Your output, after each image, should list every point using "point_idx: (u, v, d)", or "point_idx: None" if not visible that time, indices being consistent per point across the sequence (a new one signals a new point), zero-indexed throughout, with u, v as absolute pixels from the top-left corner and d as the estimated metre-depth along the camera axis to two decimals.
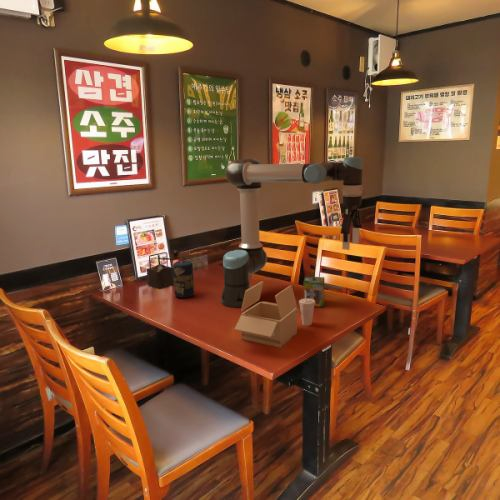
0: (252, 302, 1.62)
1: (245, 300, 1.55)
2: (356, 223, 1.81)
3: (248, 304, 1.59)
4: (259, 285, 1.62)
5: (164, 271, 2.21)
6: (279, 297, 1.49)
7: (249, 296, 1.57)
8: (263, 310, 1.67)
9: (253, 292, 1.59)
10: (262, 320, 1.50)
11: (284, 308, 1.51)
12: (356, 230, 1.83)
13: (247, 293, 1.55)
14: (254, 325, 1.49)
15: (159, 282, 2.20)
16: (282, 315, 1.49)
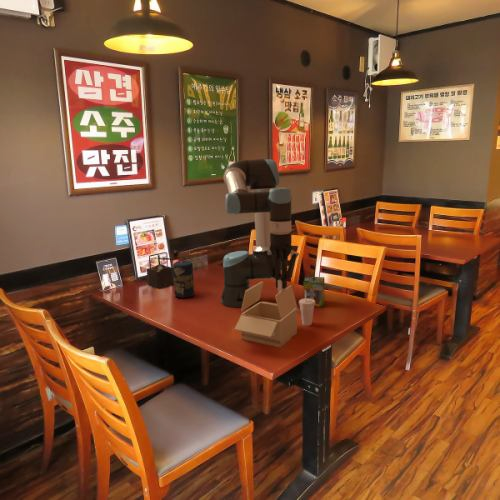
0: (252, 302, 1.62)
1: (245, 300, 1.55)
2: None
3: (248, 304, 1.59)
4: (259, 285, 1.62)
5: (164, 271, 2.21)
6: (279, 297, 1.49)
7: (249, 296, 1.57)
8: (263, 310, 1.67)
9: (253, 292, 1.59)
10: (262, 320, 1.50)
11: (284, 308, 1.51)
12: None
13: (247, 293, 1.55)
14: (254, 325, 1.49)
15: (159, 282, 2.20)
16: (282, 315, 1.49)
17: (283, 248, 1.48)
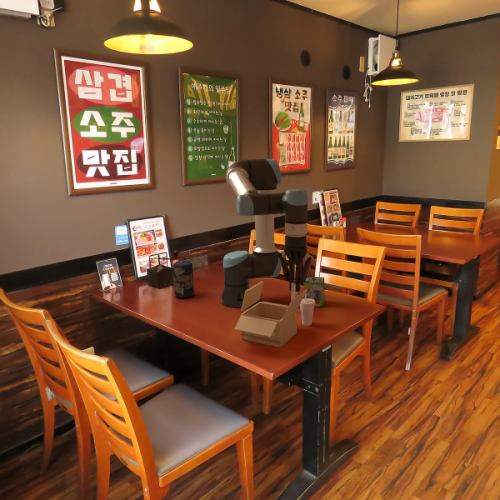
0: (252, 302, 1.62)
1: (245, 300, 1.55)
2: None
3: (248, 304, 1.59)
4: (259, 285, 1.62)
5: (164, 271, 2.21)
6: (293, 302, 1.46)
7: (249, 296, 1.57)
8: (263, 310, 1.67)
9: (253, 292, 1.59)
10: (262, 320, 1.50)
11: (290, 310, 1.50)
12: None
13: (247, 293, 1.55)
14: (254, 325, 1.49)
15: (159, 282, 2.20)
16: (285, 316, 1.48)
17: (298, 251, 1.45)
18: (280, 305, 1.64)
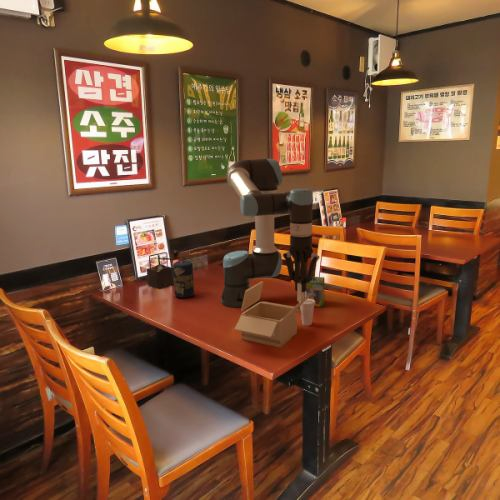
0: (252, 302, 1.62)
1: (245, 300, 1.55)
2: None
3: (248, 304, 1.59)
4: (259, 285, 1.62)
5: (164, 271, 2.21)
6: (297, 305, 1.46)
7: (249, 296, 1.57)
8: (263, 310, 1.67)
9: (253, 292, 1.59)
10: (262, 320, 1.50)
11: (291, 312, 1.49)
12: None
13: (247, 293, 1.55)
14: (254, 325, 1.49)
15: (159, 282, 2.20)
16: (285, 317, 1.48)
17: (303, 251, 1.44)
18: (280, 305, 1.64)
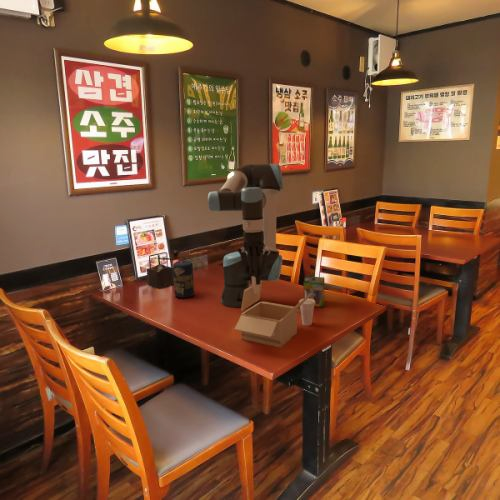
0: (252, 302, 1.62)
1: (244, 300, 1.55)
2: None
3: (248, 304, 1.59)
4: None
5: (164, 271, 2.21)
6: (297, 305, 1.46)
7: (248, 296, 1.57)
8: (263, 310, 1.67)
9: None
10: (262, 320, 1.50)
11: (291, 312, 1.49)
12: None
13: (246, 292, 1.55)
14: (254, 325, 1.49)
15: (159, 282, 2.20)
16: (285, 317, 1.48)
17: (256, 245, 1.53)
18: (280, 305, 1.64)
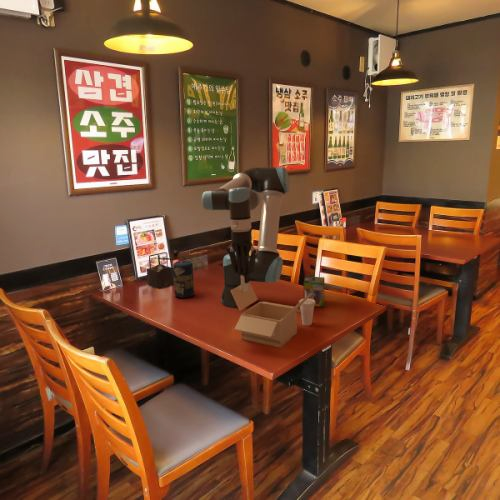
0: (249, 301, 1.62)
1: (237, 299, 1.57)
2: None
3: (245, 303, 1.60)
4: None
5: (164, 271, 2.21)
6: (297, 305, 1.46)
7: (240, 295, 1.59)
8: (263, 310, 1.67)
9: (243, 292, 1.62)
10: (262, 320, 1.50)
11: (291, 312, 1.49)
12: None
13: (234, 292, 1.58)
14: (254, 325, 1.49)
15: (159, 282, 2.20)
16: (285, 317, 1.48)
17: (244, 245, 1.56)
18: (280, 305, 1.64)
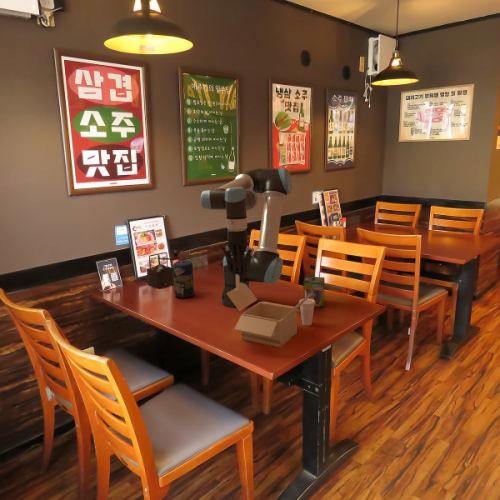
0: (248, 302, 1.62)
1: (235, 300, 1.58)
2: None
3: (244, 304, 1.60)
4: None
5: (164, 271, 2.21)
6: (297, 305, 1.46)
7: (237, 297, 1.60)
8: (263, 310, 1.67)
9: (240, 293, 1.62)
10: (262, 320, 1.50)
11: (291, 312, 1.49)
12: None
13: (231, 294, 1.59)
14: (254, 325, 1.49)
15: (159, 282, 2.20)
16: (285, 317, 1.48)
17: (239, 244, 1.57)
18: (280, 305, 1.64)
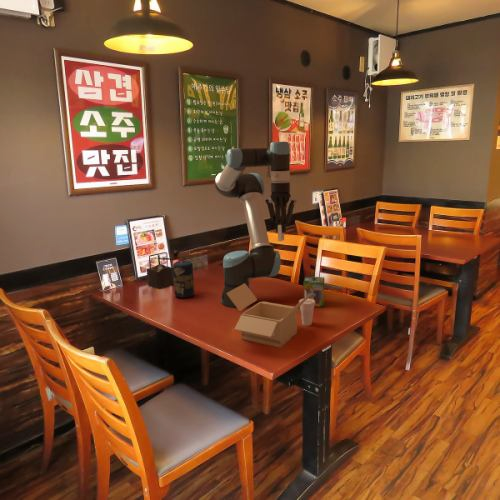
0: (248, 302, 1.62)
1: (235, 300, 1.58)
2: None
3: (244, 304, 1.60)
4: (242, 286, 1.66)
5: (164, 271, 2.21)
6: (297, 305, 1.46)
7: (237, 297, 1.60)
8: (263, 310, 1.67)
9: (240, 293, 1.62)
10: (262, 320, 1.50)
11: (291, 312, 1.49)
12: None
13: (231, 294, 1.59)
14: (254, 325, 1.49)
15: (159, 282, 2.20)
16: (285, 317, 1.48)
17: (282, 196, 1.67)
18: (280, 305, 1.64)
